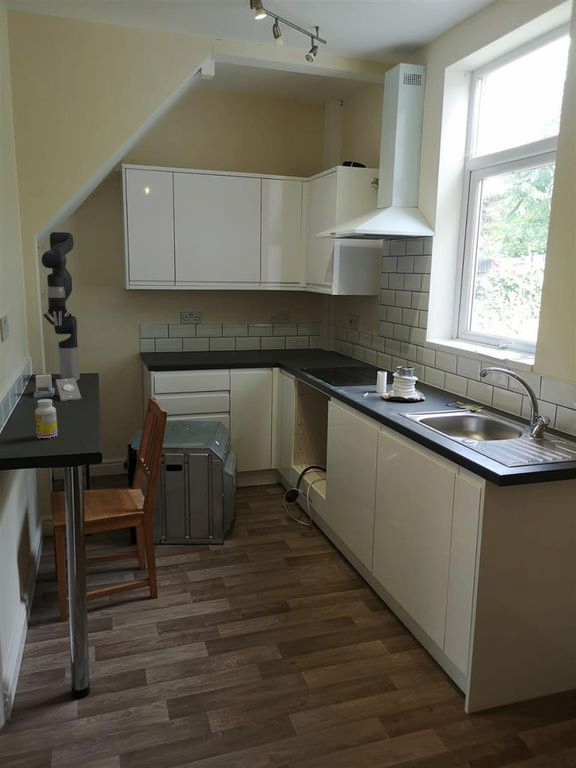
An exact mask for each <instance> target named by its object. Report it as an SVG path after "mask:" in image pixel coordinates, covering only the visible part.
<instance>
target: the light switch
mask: <svg viewBox="0 0 576 768" xmlns="http://www.w3.org/2000/svg"><path fill="white" fill-rule="evenodd" d="M55 384H56V385H55V386H56V388H57V392H58V396H59V399H60V402H69V401H68V400H72V401H80V400H79V399H81V400H82V396H81V393H80V390H79V387H78V383H77V381H76V380H75V378H69V379H61V378H60V379H59V378H58V379H55Z"/></svg>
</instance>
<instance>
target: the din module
mask: <svg viewBox="0 0 576 768" xmlns="http://www.w3.org/2000/svg"><path fill="white" fill-rule="evenodd" d="M52 383H53V382H52V374H49V373H48V374H36V375H35V387H36V388H35V390H36V389H37V392H38V387H49V389H50V391H52V388H53V387H52Z"/></svg>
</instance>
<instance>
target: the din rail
mask: <svg viewBox="0 0 576 768" xmlns="http://www.w3.org/2000/svg"><path fill="white" fill-rule="evenodd" d="M38 391H39V394H48V391H49V387H38Z"/></svg>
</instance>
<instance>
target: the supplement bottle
mask: <svg viewBox="0 0 576 768" xmlns="http://www.w3.org/2000/svg"><path fill="white" fill-rule="evenodd" d="M34 414H35V429H36V437H37V438H38V439H40V438H50V439H52V438H51V437H54V438H56V437H57V436H58V420H57V409H56V407H54V406H53V400H52V399H50V398H43V399H38V400H37V407H36V409H35V413H34ZM55 436H56V437H55Z"/></svg>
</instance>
